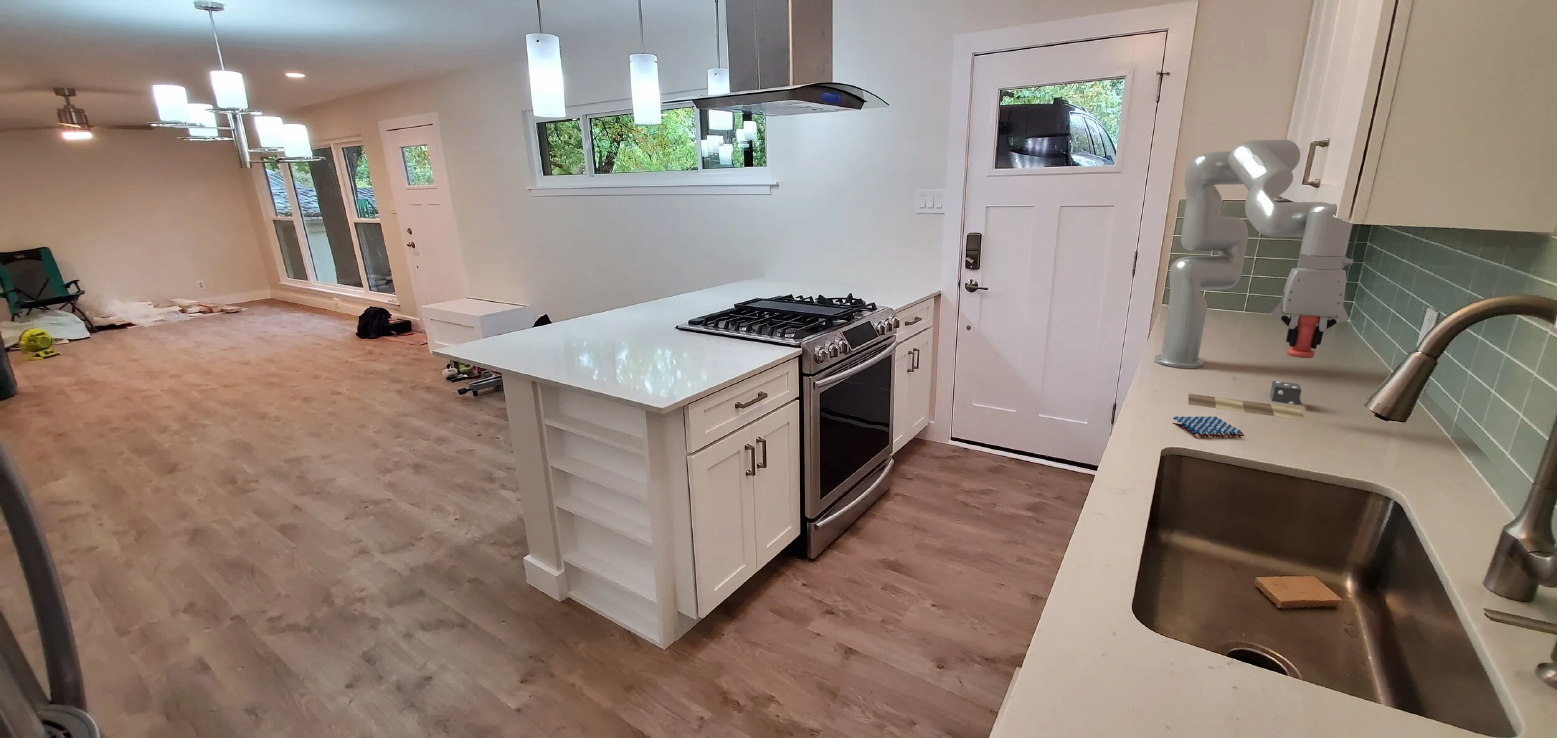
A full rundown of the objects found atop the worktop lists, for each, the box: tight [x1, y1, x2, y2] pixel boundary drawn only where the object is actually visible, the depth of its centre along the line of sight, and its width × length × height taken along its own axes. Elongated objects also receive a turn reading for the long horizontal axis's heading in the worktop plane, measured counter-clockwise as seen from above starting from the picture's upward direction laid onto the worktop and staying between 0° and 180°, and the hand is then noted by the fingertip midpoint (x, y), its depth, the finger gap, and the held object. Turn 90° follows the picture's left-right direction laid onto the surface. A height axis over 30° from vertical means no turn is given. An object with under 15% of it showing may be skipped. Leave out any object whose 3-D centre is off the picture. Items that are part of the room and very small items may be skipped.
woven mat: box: [1172, 415, 1245, 440], centre depth 138 cm, size 10×11×2 cm
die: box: [1269, 380, 1302, 405], centre depth 152 cm, size 5×5×5 cm
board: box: [1187, 393, 1306, 421], centre depth 149 cm, size 9×22×1 cm, turn 58°
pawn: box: [1286, 316, 1319, 359], centre depth 139 cm, size 5×5×10 cm
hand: (1302, 345), depth 140 cm, fingers closed on pawn, 3 cm apart
